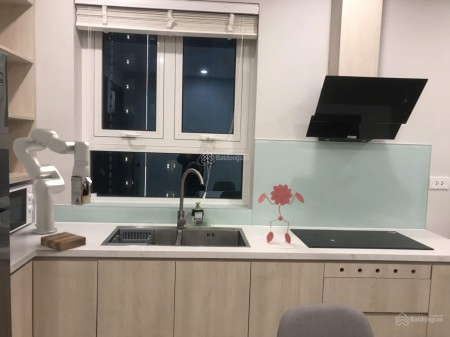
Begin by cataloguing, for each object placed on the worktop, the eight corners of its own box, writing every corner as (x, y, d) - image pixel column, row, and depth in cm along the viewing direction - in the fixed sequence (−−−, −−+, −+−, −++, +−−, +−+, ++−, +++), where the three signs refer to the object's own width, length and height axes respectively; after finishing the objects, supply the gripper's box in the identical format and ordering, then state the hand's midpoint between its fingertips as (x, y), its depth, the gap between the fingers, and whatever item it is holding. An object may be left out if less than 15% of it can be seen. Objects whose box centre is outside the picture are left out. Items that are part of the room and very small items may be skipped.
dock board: (40, 244, 180) (40, 237, 180) (65, 238, 192) (65, 231, 192) (61, 251, 171) (61, 243, 171) (85, 244, 183) (85, 237, 183)
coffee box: (80, 202, 199) (81, 174, 198) (90, 203, 198) (91, 175, 196) (70, 204, 190) (71, 175, 189) (81, 205, 189) (81, 176, 187)
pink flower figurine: (256, 239, 206) (259, 181, 202) (299, 242, 203) (303, 183, 200) (256, 247, 190) (259, 185, 187) (303, 250, 188) (307, 187, 185)
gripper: (65, 162, 193) (65, 193, 195) (85, 165, 185) (85, 197, 186) (77, 162, 200) (76, 192, 201) (97, 164, 191) (96, 196, 192)
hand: (80, 194), depth 193 cm, fingers closed on coffee box, 7 cm apart
